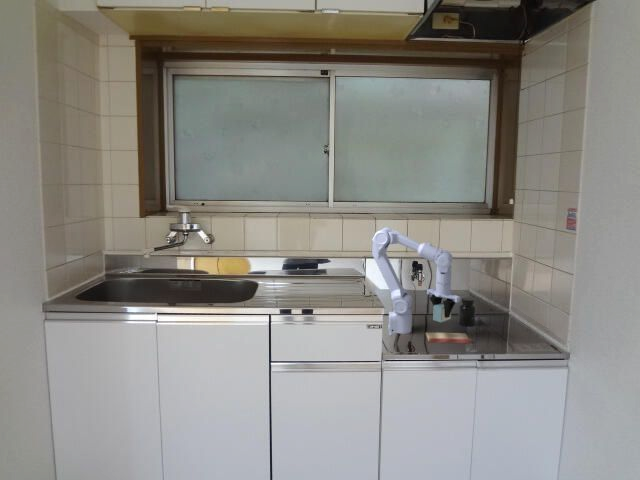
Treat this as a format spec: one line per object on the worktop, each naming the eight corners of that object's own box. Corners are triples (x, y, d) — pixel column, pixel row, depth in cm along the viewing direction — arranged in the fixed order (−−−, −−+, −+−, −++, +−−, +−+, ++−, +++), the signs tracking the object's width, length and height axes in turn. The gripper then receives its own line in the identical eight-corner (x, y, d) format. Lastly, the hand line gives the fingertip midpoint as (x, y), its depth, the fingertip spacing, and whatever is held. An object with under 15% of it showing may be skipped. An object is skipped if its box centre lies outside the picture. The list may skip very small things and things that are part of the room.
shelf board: (429, 344, 173) (429, 338, 172) (425, 334, 183) (425, 329, 182) (471, 345, 172) (471, 339, 171) (465, 335, 181) (465, 329, 181)
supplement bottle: (476, 329, 188) (477, 301, 186) (459, 328, 189) (460, 301, 187) (473, 323, 195) (475, 297, 192) (457, 322, 196) (458, 296, 194)
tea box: (433, 319, 178) (433, 305, 177) (442, 316, 181) (443, 302, 180) (441, 322, 175) (442, 308, 173) (451, 319, 178) (451, 304, 177)
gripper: (422, 280, 179) (421, 312, 181) (452, 288, 167) (451, 322, 170) (433, 277, 183) (432, 309, 185) (464, 284, 171) (462, 318, 174)
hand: (442, 315), depth 178 cm, fingers closed on tea box, 4 cm apart
